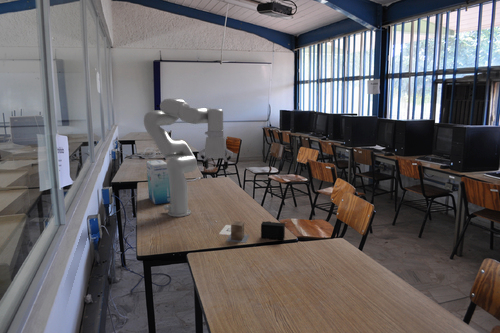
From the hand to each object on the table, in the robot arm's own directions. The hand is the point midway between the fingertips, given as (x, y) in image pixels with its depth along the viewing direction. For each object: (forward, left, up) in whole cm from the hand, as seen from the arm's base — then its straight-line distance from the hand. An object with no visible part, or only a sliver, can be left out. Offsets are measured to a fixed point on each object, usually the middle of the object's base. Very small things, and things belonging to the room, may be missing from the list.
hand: (216, 168), depth 186 cm
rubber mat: (+15, -18, -28) cm, 37 cm away
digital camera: (+31, -13, -29) cm, 44 cm away
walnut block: (+15, -18, -28) cm, 36 cm away
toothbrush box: (-47, +34, -28) cm, 65 cm away
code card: (+9, -8, -28) cm, 31 cm away
